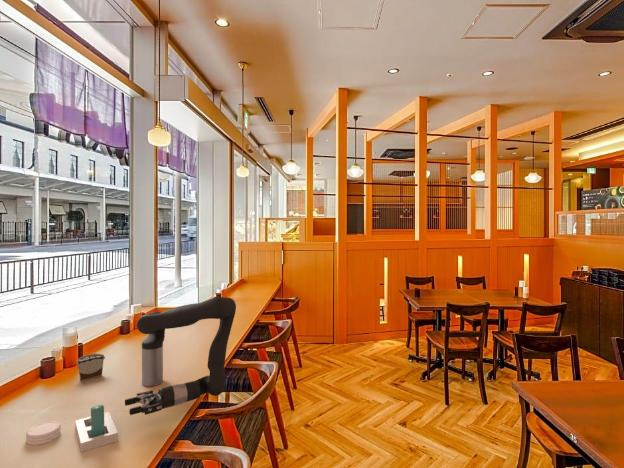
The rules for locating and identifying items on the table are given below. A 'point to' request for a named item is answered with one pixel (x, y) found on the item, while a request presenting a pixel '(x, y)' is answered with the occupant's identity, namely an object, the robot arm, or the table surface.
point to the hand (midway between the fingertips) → (127, 407)
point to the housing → (90, 443)
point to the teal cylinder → (97, 421)
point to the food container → (90, 366)
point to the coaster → (43, 433)
